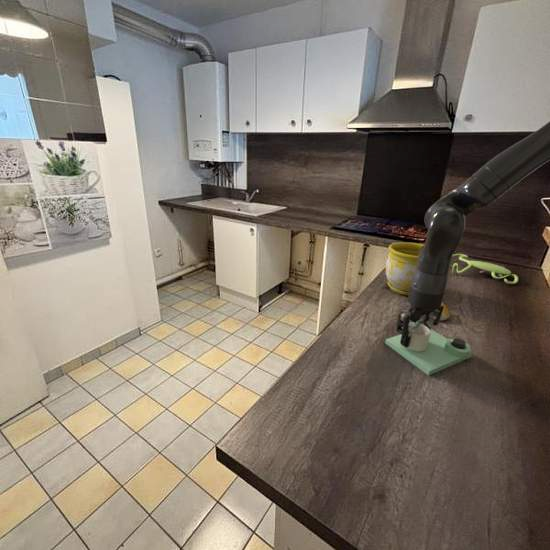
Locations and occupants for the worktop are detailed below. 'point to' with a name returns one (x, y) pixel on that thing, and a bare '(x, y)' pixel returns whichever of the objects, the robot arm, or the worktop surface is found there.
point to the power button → (458, 343)
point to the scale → (432, 353)
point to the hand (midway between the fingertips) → (414, 342)
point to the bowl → (419, 338)
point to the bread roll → (444, 313)
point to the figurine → (485, 268)
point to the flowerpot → (402, 265)
